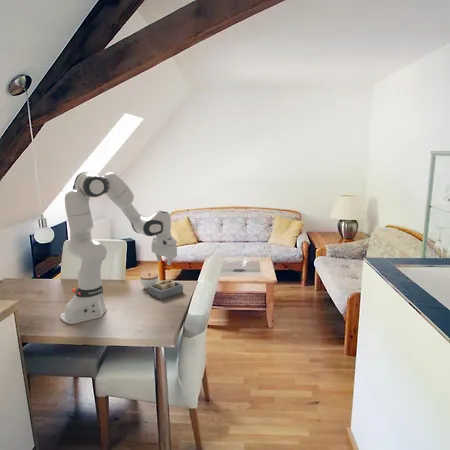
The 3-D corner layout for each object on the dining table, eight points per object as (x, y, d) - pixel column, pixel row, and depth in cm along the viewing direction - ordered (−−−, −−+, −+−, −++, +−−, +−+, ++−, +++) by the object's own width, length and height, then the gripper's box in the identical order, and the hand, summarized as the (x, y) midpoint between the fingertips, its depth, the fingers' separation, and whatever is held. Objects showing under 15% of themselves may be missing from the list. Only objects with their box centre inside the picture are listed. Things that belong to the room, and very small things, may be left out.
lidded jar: (157, 290, 235) (156, 275, 233) (139, 290, 236) (138, 275, 234) (160, 284, 246) (159, 269, 244) (143, 284, 246) (142, 269, 244)
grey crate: (160, 300, 221) (160, 291, 220) (148, 294, 230) (148, 286, 229) (183, 292, 231) (182, 284, 230) (170, 287, 240) (170, 279, 239)
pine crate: (162, 295, 225) (161, 285, 224) (156, 293, 230) (156, 283, 228) (175, 291, 231) (174, 281, 230) (169, 289, 236) (168, 279, 234)
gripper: (148, 237, 229) (149, 260, 232) (169, 243, 215) (170, 267, 217) (157, 235, 234) (158, 258, 236) (178, 241, 219) (179, 265, 222)
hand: (164, 263), depth 227 cm, fingers open, 8 cm apart
